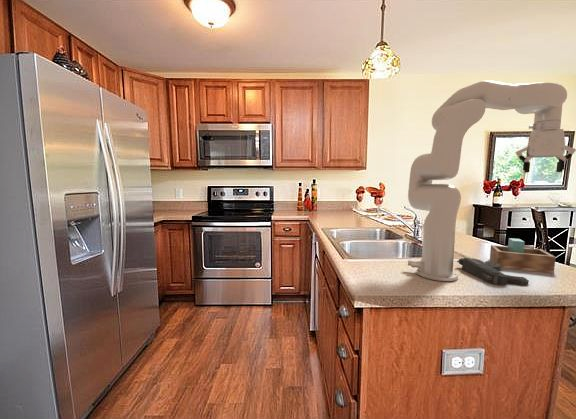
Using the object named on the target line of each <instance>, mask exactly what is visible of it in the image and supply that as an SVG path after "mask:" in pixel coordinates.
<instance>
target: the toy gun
mask: <svg viewBox="0 0 576 419" xmlns="http://www.w3.org/2000/svg"><path fill="white" fill-rule="evenodd" d="M456 263H459V266H461V269H462V271H463V270H464V271H465V272H467V273H469V274H471V275H473V276H475V277H477V278H479V279H481V280H482V281H483V280H484V281H486V282H487V283H489V284H491V285H492V284H493V285H497V286H507V284H508V283H509V284H514V285H519V286H527V285H529V282H530V280H529V279H527V278H526V277H524V276H517V275H516V276H514V275H509V274H505V273H503V272H501V268H502V267H501V265H500V264H498V263H493V262H492V261H489V260H488V261H487V260H486V261H483V260H481V259H476V258H473V257H461V258H459V259H458V260H457V261H456Z"/></svg>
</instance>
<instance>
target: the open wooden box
mask: <svg viewBox="0 0 576 419" xmlns="http://www.w3.org/2000/svg"><path fill="white" fill-rule="evenodd" d="M489 260H490V262H493V263H498V264H500V265H501V268H502V269H503V268H504V269H514V270H522V271H529V272H530V271H531V272H540V273H548V274H549V273H550V274H555V267H556V266H555V265H556V256H554V254H551V253H550V252H547V251H545V250H544V249H541V248H531V247H530V248H529V247H524V253H515V252H508V245H507V246H504V245H493V244H491V245H490V253H489Z"/></svg>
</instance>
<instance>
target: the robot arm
mask: <svg viewBox="0 0 576 419" xmlns="http://www.w3.org/2000/svg"><path fill="white" fill-rule="evenodd" d="M567 98H568V91H567V89H566V87H564V86H563V85H562V84H559V83H555V82H550V81H549V82H548V81H547V82H546V81H545V82H543V81H542V82H540V81H539V82H529V83H516V84H512V83H505V82H501V81H494V80H481V81H479V82H475V83H473V84H470V85H468V86H465V87H462V88H460V89H458V90H456V91H455V92H454V93H453V94H452V95H450V97H449V98H447V99H446V101H445V102H443V104H441V106H440V107H439V108H437V109H436V110H435V112H434V113H433V115H432V117H431V126H432V128H433V129H434V130H435V134H434V136H433V140H432V141H433V142H432V147H431V152H430V153H424V154H421V155H419V156H417V157H416V158H415V159H414V160H413V162H412V164H411V167H410V171H409V180H408V181H409V182H408V190H407V192H408V193H407V199H408V203H409V205H410V207H412V208H413V209H415V210H418V211H425V212H426V211H428V213H427V215H426V217H425V219H424V222H423V228H422V229H423V232H422V234H423V235H422V250H421V251H422V252H421V258H420V260H416V261H415V260H409V259H408V260H407V266H410V267H411V268H416V274H417V275H419V276H420V277H423V278H425V279H427V280H431V281H438V282H452V281H453V282H454V281H457V280H458V279H459V274H458V273H456V272H455V271H454V259H455V258H454V256H455V255H454V254H455V244H456V243H455V242H456V240H455V239H456V228H457V216H458V212H459V208H460V204H461V201H462V195H461V191H460V190H459V189H458V187H456V186H454V185H452V184H447V183H433V181H444V180H446V181H447V180H451V179H453V178H456V176H457V175H458V173H459V169H460V162H461V155H462V148H463V147H462V146H463V140H464V137H465V135H466V134H467V132H468V131H469V129H470V128H471V127H472V126H474V125H475V124H477V123H478V122H479V121H481V119H482V118H483V116H484V114H485V112H486V109H491V110H500V111H509V110H515V111H516V112H517V113H518V114H521V115H530V114H531V115H532V114H534V116H533V117H534V118H533V124H530V125H529V126H528V130H532V131H531V132H530V135H529V138H528V141H527V146H526V147H524V148H521V149H519V150H517V151H516V152H515V154H516V156H517V158H518V160H520V161H521V162H522V163H523V165H522V166H523V167H522V171H524V173H526V174H527V173H529V172H530V169H531V168H530V167H531V165H530V164H531V162H530V160H531V159H533V158H553V157H554V158H556V159H557V160H558V161H557V163H556V170H555V171H556V173H563V171H564V170H565V165H566V164H565V163H566V162H567V160H568V159H570V158H571V157H572V156H573V155H574V154H575V152H576V148H574V147H571V146H569V145H566V138H565V136H566V135H565V132H564V131H565V130H564V129H563V128H561V127H562V126H561V125H562V114H563V113H562V111H563V105H564V103H565V102H566V100H567ZM565 151H567V153H566V154H565ZM524 152H526V157H525V156H524V155H523V153H524ZM564 154H565V155H564Z"/></svg>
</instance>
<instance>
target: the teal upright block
mask: <svg viewBox="0 0 576 419" xmlns="http://www.w3.org/2000/svg"><path fill="white" fill-rule="evenodd" d="M507 243H508V244H507V247H508V252H515V253H524V248H525V244H526V242H525V241H524V240H522V239H520V238H515V237H513V238H512V237H511V238H510V237H509V238H508V242H507Z"/></svg>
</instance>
